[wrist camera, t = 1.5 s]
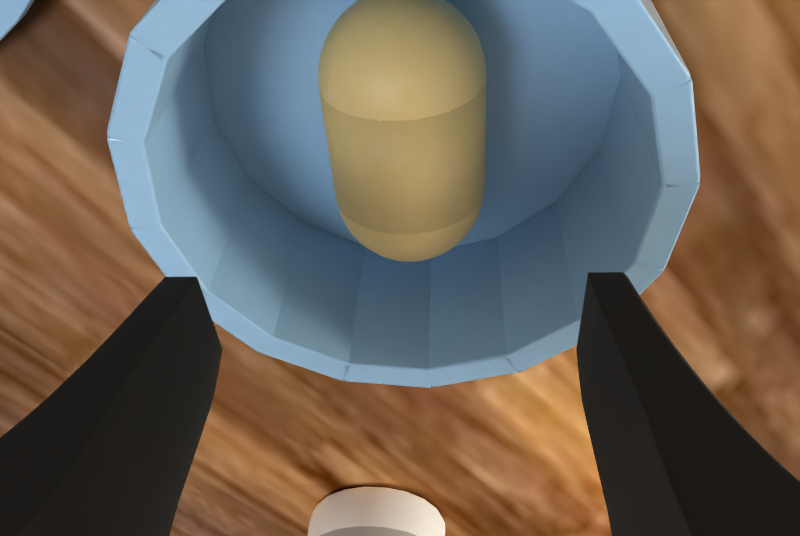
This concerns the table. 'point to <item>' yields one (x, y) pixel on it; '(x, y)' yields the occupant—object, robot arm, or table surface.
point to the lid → (12, 14)
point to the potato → (405, 124)
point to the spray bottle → (375, 514)
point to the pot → (318, 210)
